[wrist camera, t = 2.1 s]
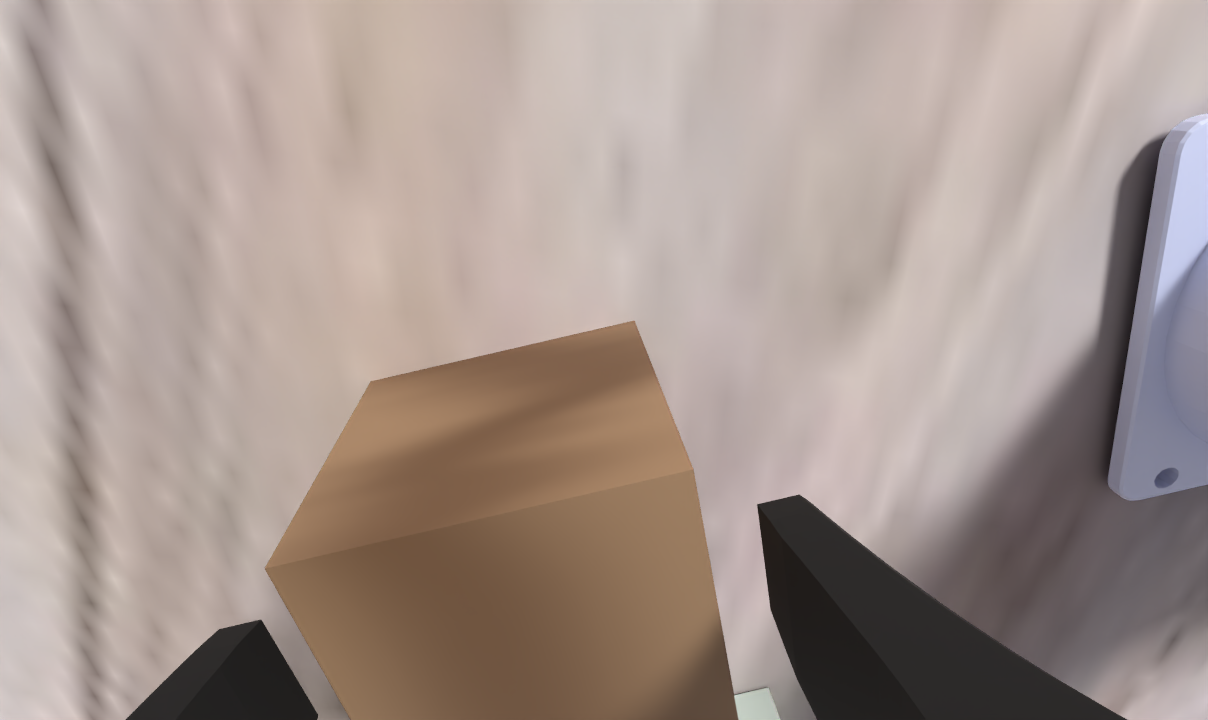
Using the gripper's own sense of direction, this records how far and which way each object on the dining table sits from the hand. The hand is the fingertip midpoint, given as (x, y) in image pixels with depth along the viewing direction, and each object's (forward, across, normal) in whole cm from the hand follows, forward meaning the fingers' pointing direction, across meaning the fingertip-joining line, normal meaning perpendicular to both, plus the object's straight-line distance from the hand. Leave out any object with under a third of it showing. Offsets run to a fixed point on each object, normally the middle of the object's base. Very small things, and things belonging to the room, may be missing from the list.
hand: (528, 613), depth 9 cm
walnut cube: (+4, 0, 0) cm, 4 cm away
